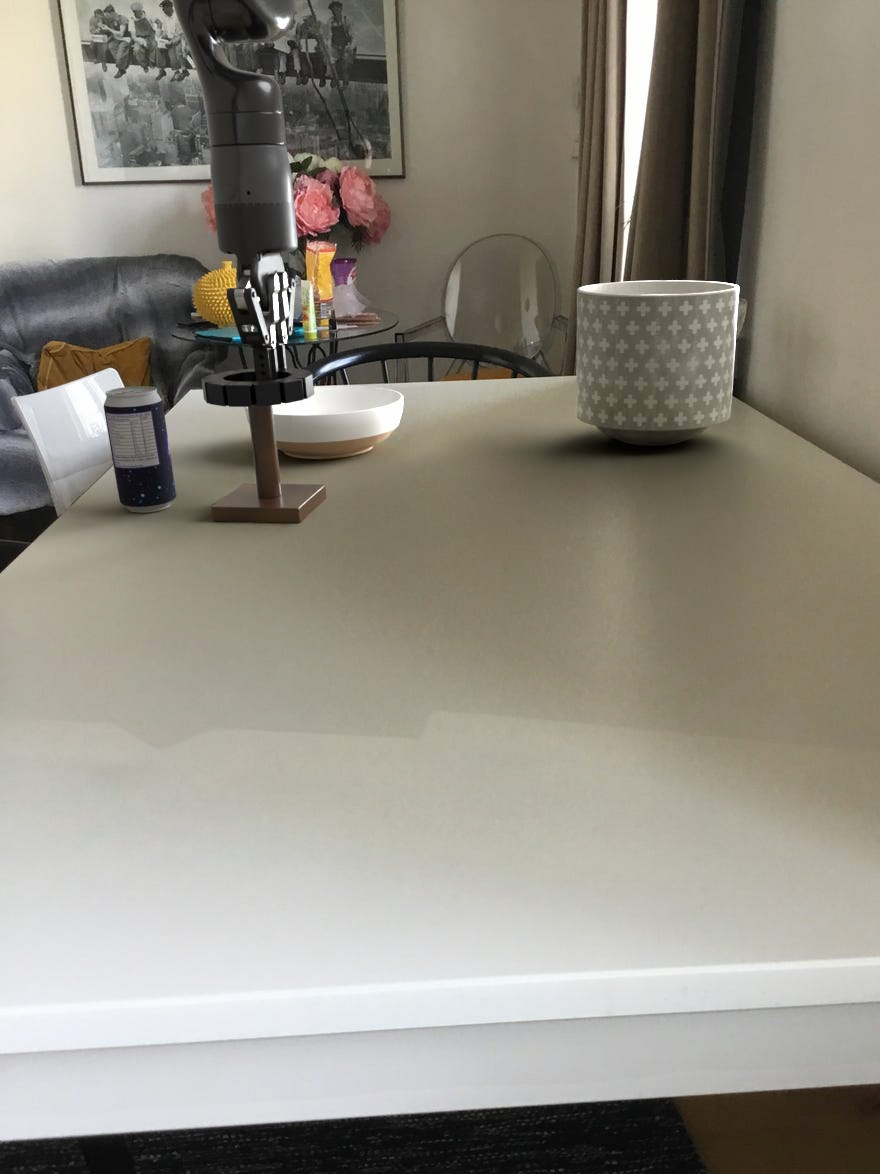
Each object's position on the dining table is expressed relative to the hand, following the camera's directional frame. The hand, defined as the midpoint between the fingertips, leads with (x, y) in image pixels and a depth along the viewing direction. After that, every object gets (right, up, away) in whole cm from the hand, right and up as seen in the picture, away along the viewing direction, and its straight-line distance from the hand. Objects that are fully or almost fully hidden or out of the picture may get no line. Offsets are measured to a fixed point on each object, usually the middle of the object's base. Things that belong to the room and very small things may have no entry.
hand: (272, 383), depth 107 cm
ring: (-1, -2, -4) cm, 4 cm away
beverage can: (-13, -12, +3) cm, 18 cm away
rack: (0, -13, +1) cm, 13 cm away
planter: (+43, -1, +26) cm, 50 cm away
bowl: (+2, -2, +26) cm, 26 cm away
